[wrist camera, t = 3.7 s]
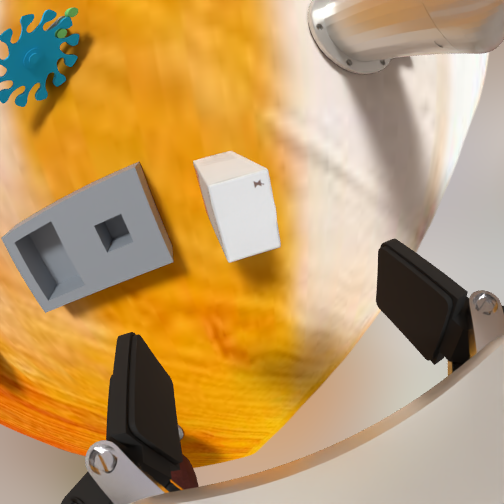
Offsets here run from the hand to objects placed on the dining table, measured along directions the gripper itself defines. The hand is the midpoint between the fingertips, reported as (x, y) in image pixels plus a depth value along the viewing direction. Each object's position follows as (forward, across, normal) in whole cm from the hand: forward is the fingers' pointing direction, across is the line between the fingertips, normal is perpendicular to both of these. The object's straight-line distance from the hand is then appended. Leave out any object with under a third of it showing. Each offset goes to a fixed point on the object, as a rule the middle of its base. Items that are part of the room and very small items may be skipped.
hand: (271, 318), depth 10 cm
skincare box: (+22, -1, +1) cm, 22 cm away
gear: (+22, +12, -20) cm, 32 cm away
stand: (+22, +14, +1) cm, 26 cm away
